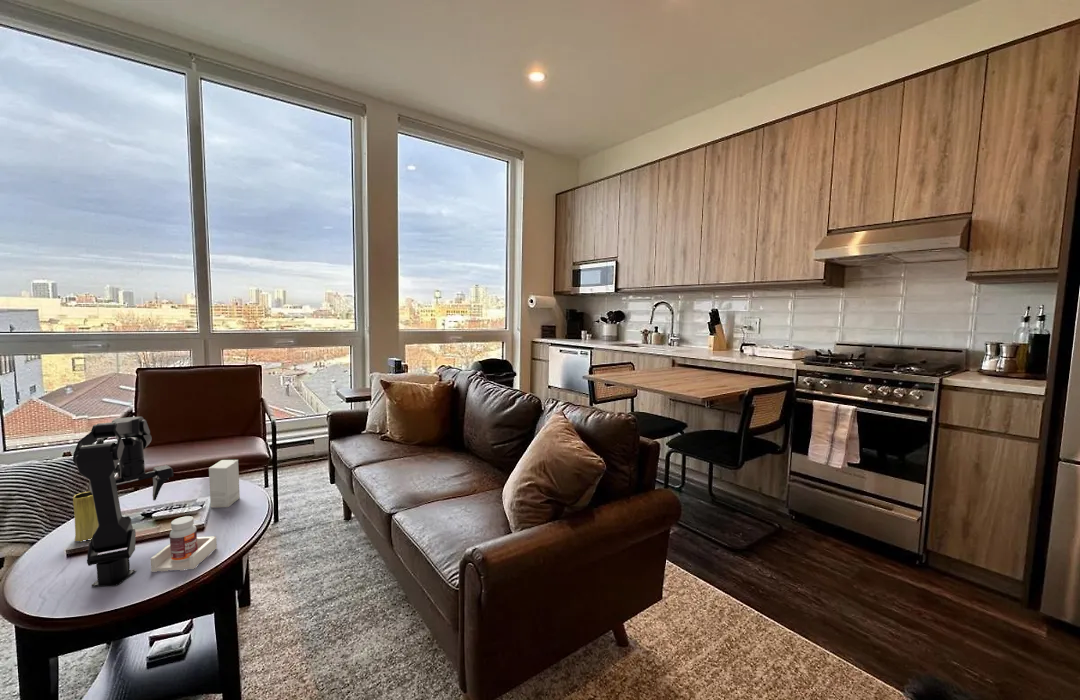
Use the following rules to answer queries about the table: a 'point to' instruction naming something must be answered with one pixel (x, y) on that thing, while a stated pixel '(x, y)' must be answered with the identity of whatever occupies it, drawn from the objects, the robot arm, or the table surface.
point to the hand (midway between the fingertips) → (135, 505)
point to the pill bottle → (183, 538)
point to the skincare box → (224, 483)
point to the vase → (84, 516)
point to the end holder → (165, 562)
